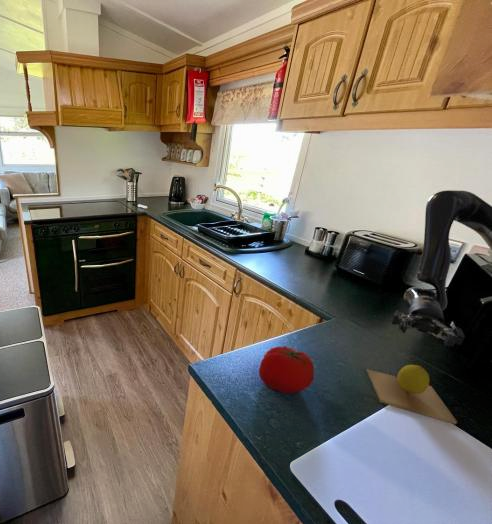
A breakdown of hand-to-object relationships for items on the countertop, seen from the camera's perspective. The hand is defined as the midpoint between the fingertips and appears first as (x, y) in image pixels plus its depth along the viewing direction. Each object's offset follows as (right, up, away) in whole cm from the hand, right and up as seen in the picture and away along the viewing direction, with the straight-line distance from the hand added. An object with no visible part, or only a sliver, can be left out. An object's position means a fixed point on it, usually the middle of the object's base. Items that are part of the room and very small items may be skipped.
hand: (425, 336), depth 75 cm
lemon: (-8, -13, -3) cm, 16 cm away
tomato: (-39, -12, -3) cm, 41 cm away
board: (-8, -14, -3) cm, 16 cm away
